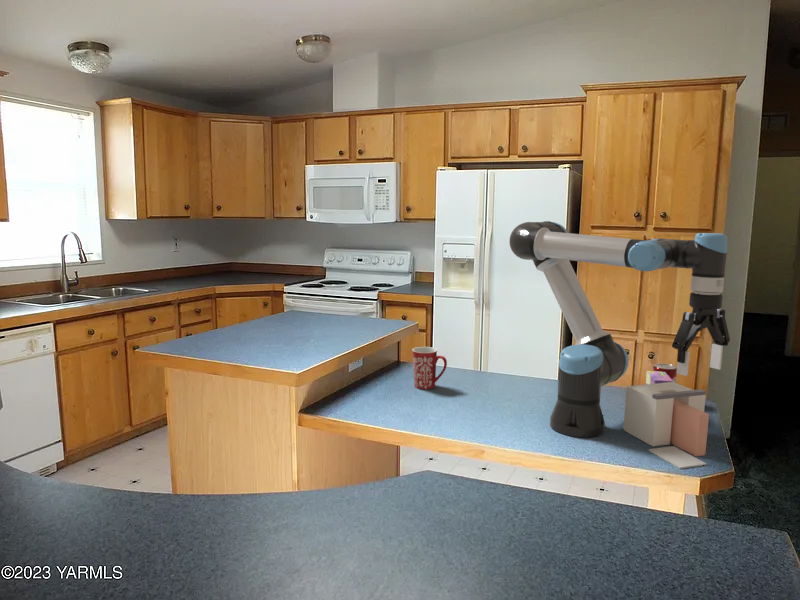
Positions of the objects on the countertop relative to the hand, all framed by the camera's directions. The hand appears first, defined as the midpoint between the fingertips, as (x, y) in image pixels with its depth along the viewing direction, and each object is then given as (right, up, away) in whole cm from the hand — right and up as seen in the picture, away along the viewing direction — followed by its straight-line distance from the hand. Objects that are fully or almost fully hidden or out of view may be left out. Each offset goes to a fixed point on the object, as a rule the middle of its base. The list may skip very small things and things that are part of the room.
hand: (698, 371), depth 151 cm
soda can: (+7, -15, +37) cm, 40 cm away
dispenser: (-6, -19, +8) cm, 21 cm away
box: (+1, -16, +26) cm, 31 cm away
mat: (-9, -21, -7) cm, 24 cm away
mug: (-70, -12, +49) cm, 86 cm away
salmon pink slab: (-4, -20, 0) cm, 21 cm away
